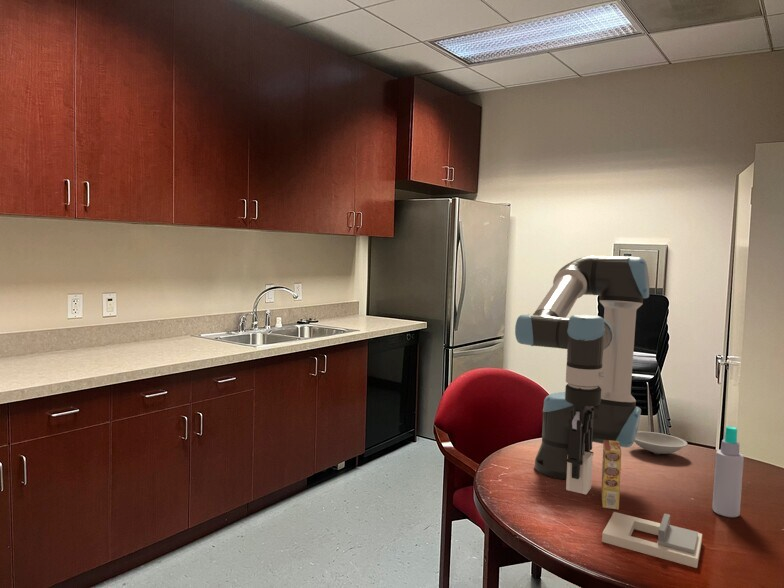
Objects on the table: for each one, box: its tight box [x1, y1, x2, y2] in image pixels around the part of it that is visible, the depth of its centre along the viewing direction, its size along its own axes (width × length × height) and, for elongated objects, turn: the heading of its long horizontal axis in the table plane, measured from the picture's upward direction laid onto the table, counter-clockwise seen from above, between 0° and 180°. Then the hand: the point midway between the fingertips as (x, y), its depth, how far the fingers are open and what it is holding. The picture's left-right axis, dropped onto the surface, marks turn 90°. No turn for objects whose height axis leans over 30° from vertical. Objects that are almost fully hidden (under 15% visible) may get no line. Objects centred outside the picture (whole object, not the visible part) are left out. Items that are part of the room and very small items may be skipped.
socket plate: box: [601, 511, 703, 569], centre depth 129 cm, size 19×13×2 cm
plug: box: [565, 443, 594, 495], centre depth 128 cm, size 4×4×10 cm
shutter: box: [657, 513, 699, 554], centre depth 126 cm, size 7×10×3 cm
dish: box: [634, 431, 688, 455], centre depth 188 cm, size 18×14×5 cm
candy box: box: [601, 440, 622, 510], centre depth 149 cm, size 9×4×15 cm, turn 162°
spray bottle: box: [711, 425, 745, 518], centre depth 144 cm, size 6×6×22 cm
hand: (578, 487), depth 128 cm, fingers closed on plug, 4 cm apart
